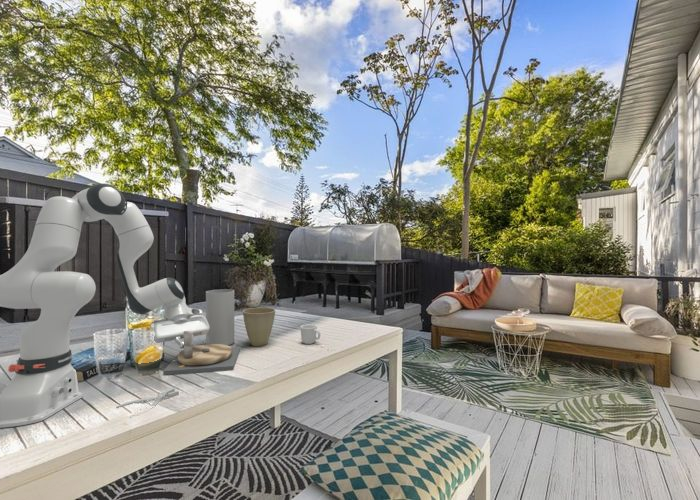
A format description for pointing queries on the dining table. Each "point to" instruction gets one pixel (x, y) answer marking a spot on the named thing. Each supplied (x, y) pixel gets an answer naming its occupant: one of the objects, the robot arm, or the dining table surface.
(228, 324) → the cylinder vase
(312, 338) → the cup
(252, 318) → the plant pot
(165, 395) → the pliers
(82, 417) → the dining table surface
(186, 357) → the dial
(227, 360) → the dial base
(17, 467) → the dining table surface
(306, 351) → the dining table surface
